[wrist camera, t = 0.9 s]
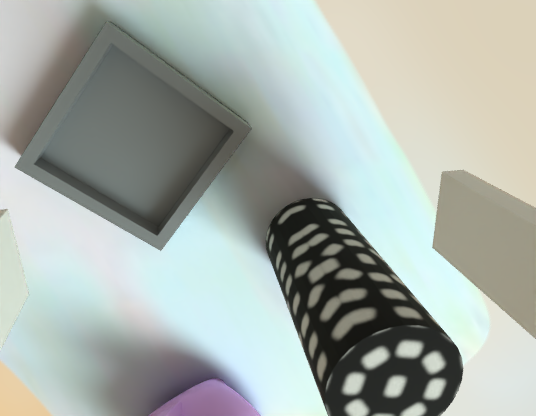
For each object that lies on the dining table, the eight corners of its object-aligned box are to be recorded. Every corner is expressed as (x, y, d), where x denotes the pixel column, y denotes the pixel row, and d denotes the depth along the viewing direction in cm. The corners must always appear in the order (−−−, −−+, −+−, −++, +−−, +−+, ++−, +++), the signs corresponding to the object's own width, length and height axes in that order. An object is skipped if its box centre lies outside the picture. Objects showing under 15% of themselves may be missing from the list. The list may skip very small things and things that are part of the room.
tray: (24, 158, 38) (14, 167, 36) (110, 22, 36) (106, 21, 33) (162, 238, 43) (161, 250, 40) (247, 122, 40) (251, 128, 38)
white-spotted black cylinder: (276, 191, 43) (347, 318, 25) (360, 205, 45) (484, 331, 26) (257, 271, 46) (308, 439, 27) (337, 281, 48) (434, 444, 29)
